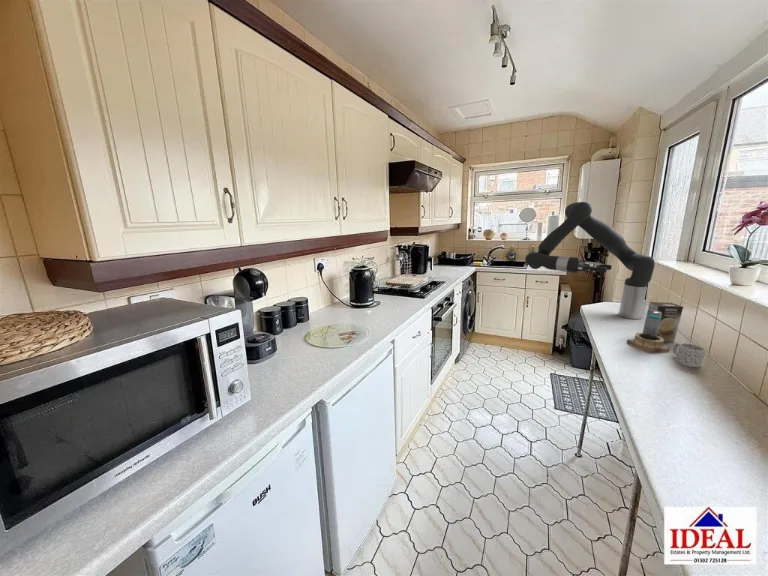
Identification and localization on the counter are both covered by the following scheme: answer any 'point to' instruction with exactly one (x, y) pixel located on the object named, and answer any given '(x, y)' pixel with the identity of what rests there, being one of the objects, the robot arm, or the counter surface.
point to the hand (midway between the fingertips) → (608, 268)
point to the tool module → (651, 324)
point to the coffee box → (667, 319)
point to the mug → (689, 354)
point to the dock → (649, 350)
